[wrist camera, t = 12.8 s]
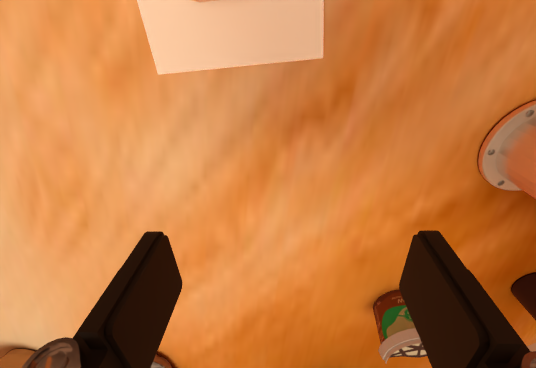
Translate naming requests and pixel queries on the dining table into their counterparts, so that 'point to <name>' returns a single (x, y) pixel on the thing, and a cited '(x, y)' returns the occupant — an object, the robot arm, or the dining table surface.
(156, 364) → the grey stone plate
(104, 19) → the dining table surface
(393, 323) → the food container
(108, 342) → the robot arm
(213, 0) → the orange block
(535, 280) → the vinegar
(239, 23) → the post board
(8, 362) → the planter bowl
